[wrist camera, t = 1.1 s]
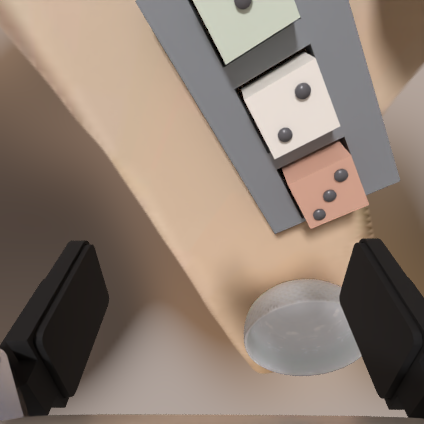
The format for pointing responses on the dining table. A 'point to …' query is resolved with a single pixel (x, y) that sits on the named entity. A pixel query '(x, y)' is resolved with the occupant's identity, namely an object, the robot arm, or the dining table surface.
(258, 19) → the knob block
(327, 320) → the cereal bowl
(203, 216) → the dining table surface
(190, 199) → the dining table surface
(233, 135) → the grey flat board
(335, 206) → the pink block
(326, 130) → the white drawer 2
